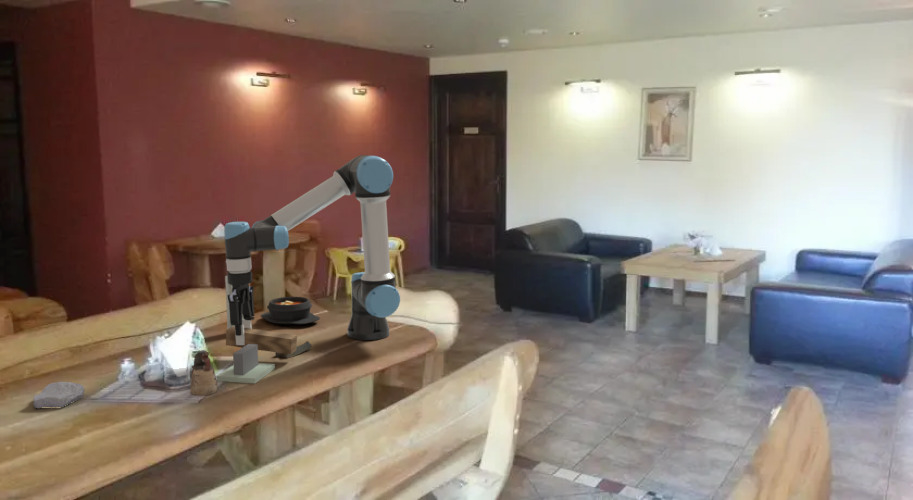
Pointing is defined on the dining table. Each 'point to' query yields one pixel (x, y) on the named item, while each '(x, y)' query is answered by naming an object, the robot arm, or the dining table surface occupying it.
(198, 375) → the figurine
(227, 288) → the paper towel roll
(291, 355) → the dark grey oblong piece
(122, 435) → the dining table surface
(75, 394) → the stone block
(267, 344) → the beam
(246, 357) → the stand
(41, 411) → the dining table surface
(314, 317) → the casserole
